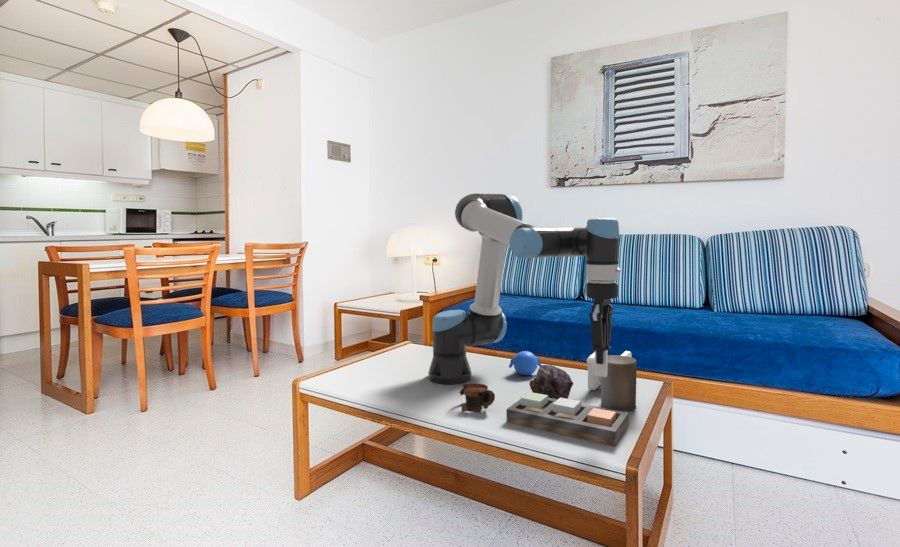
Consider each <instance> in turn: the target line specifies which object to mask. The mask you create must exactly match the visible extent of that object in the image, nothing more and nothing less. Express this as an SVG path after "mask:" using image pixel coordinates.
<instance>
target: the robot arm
mask: <svg viewBox="0 0 900 547" xmlns="http://www.w3.org/2000/svg"><path fill="white" fill-rule="evenodd" d="M454 216H455V220H456V222H457V224H458V225H459V226H460V227H462V228H463V229H465V230H467V231H469V232H473V233H474V232H478V234H479V235H480V236H481V238H482V239H481V246H480V253H479V262H478V271H477V279H476V285H475V295H474V302H473V303H471V304H470V305H469V310H468V312H467V313H466V311H465V310H462V309H449V310H445V311H441V312H438V313H436V314H435V315H434V316H433V318H432V326H431V329H432V360H431V362H430V366H429V369H428V375H427V376H428V380H429V381H431V382H432V383H436V384H441V385H442V384H444V385H455V384H456V385H457V384H462V383H463V384H464V383H465V382H466V383H467V382H468V381H471V380H472V369H471V366H470V363H469V361H468V358H467V357H468V356H467V347H473V346H480V345H481V346H482V345H491V344H494V343H498V342H501V341H502V339H504V337H505V335H506V333H507V326H508V323H507V318H506V315H505V314H504V312H503V310H502V308H501V306H500V305H499V303H500V297H501V296H500V295H501V290H502V283H503V282H502V281H503V276H504V275H503V273H504V267H505V259H506V252H507V247H509V248H510V251H511V252H512V254H513V255H514V256H515V257H516V258H520V259H529V260H530V259H536V258H537V259H539V258H541V259H542V258H543V259H544V258H561V257H562V258H563V257H565V258H567V257H585V258H586V265H585V268H586V269H585V271H586V272H585V273H586V274H585V279H586V280H587V282H586V283H585V295H586V297H587V298H589V299H593V304H592V305H591V312H589V320H590V330H591V332H590V333H591V350H592V351H594V352H595V376H601V377H607V365H608V352H609V351H608V350H612V346H610V345H611V334H612V321H613V312H614V306H613V305H612V304H611V300H614V299H617V298H618V297H619V283H618V282H616V281H618V280H619V273H621V272H622V270H621V268H620V267H619V253H620V251H619V249H620V236H621V235H620V226H619V225H620V223H619V220H618V219H616V218H613V217H611V218H610V217H609V218H603V217H602V218H590V219H588V220H587V221H586V227H538V226H535V225H532V224H529V223H527V222H524V221H523V209H522V205H521V204H520V201H519V200H518V198H517V197H516V196H514V195H511V194H504V193H477V192H476V193H471V194H467V195H464V196H463V197H462V198H460V200H459V201H458V203H456V206H455V210H454Z"/></svg>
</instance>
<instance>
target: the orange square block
mask: <svg viewBox="0 0 900 547" xmlns="http://www.w3.org/2000/svg"><path fill="white" fill-rule="evenodd" d="M615 420H616V412H614V411H608V410H603V409H598V408H593V409H592V410H591V411H590V412H589V413H588V415H587V423H592V424H597V425H601V426H606V427H611V426H612V424H613V423H614V422H615Z"/></svg>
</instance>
